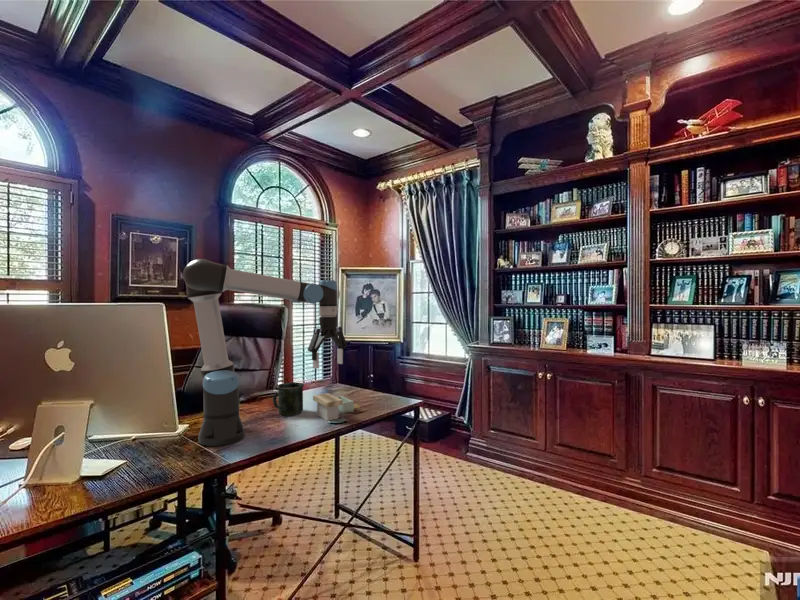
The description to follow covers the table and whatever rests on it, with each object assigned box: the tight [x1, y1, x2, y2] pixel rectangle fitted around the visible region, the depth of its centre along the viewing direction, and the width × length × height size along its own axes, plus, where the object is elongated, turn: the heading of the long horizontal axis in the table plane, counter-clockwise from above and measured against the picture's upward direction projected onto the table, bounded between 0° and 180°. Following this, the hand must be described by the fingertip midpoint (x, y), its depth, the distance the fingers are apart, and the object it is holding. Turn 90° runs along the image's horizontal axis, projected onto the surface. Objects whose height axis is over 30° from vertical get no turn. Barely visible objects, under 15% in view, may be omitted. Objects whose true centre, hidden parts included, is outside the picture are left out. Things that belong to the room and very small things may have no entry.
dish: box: [336, 395, 355, 414], centre depth 184 cm, size 5×12×4 cm, turn 34°
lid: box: [312, 392, 343, 408], centre depth 173 cm, size 7×14×2 cm, turn 34°
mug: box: [272, 382, 304, 416], centre depth 179 cm, size 11×15×12 cm
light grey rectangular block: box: [316, 402, 339, 422], centre depth 173 cm, size 5×10×6 cm, turn 34°
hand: (328, 365), depth 177 cm, fingers open, 13 cm apart
